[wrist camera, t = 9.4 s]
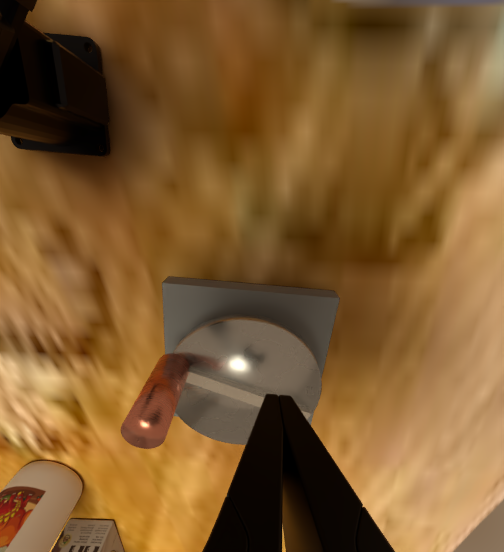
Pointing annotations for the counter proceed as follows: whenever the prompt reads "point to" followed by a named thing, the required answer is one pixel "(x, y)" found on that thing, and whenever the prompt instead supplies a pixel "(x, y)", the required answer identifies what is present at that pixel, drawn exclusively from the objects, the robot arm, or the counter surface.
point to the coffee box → (89, 537)
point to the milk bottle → (37, 506)
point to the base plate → (249, 309)
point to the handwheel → (224, 380)
